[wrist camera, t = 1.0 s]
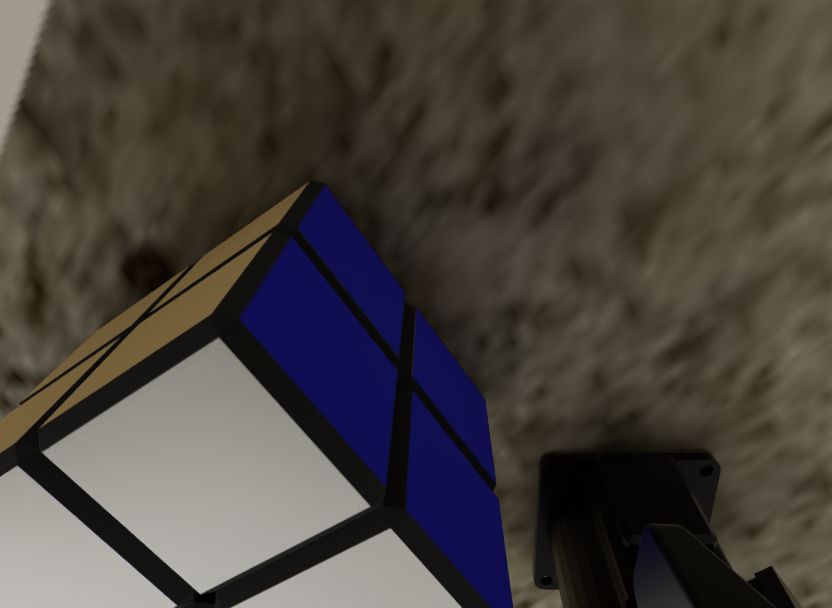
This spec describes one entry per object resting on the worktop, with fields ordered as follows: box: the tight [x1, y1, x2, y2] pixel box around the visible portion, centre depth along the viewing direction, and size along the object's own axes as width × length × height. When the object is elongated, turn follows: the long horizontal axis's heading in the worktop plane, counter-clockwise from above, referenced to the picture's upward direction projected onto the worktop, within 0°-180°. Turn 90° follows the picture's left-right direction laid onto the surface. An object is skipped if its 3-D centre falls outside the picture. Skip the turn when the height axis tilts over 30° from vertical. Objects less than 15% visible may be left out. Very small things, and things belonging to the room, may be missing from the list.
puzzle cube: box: [0, 181, 513, 608], centre depth 18 cm, size 10×10×10 cm
